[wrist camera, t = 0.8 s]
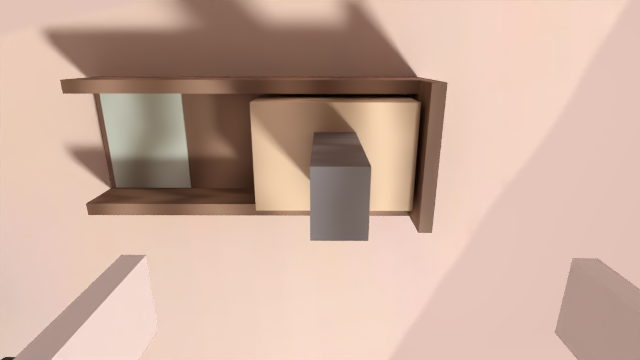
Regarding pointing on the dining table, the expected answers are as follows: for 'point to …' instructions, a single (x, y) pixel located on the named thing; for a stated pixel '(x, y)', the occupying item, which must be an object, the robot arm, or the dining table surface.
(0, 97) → the dining table surface
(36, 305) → the dining table surface
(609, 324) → the robot arm
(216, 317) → the dining table surface
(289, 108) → the block with handle
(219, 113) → the bay
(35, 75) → the dining table surface
